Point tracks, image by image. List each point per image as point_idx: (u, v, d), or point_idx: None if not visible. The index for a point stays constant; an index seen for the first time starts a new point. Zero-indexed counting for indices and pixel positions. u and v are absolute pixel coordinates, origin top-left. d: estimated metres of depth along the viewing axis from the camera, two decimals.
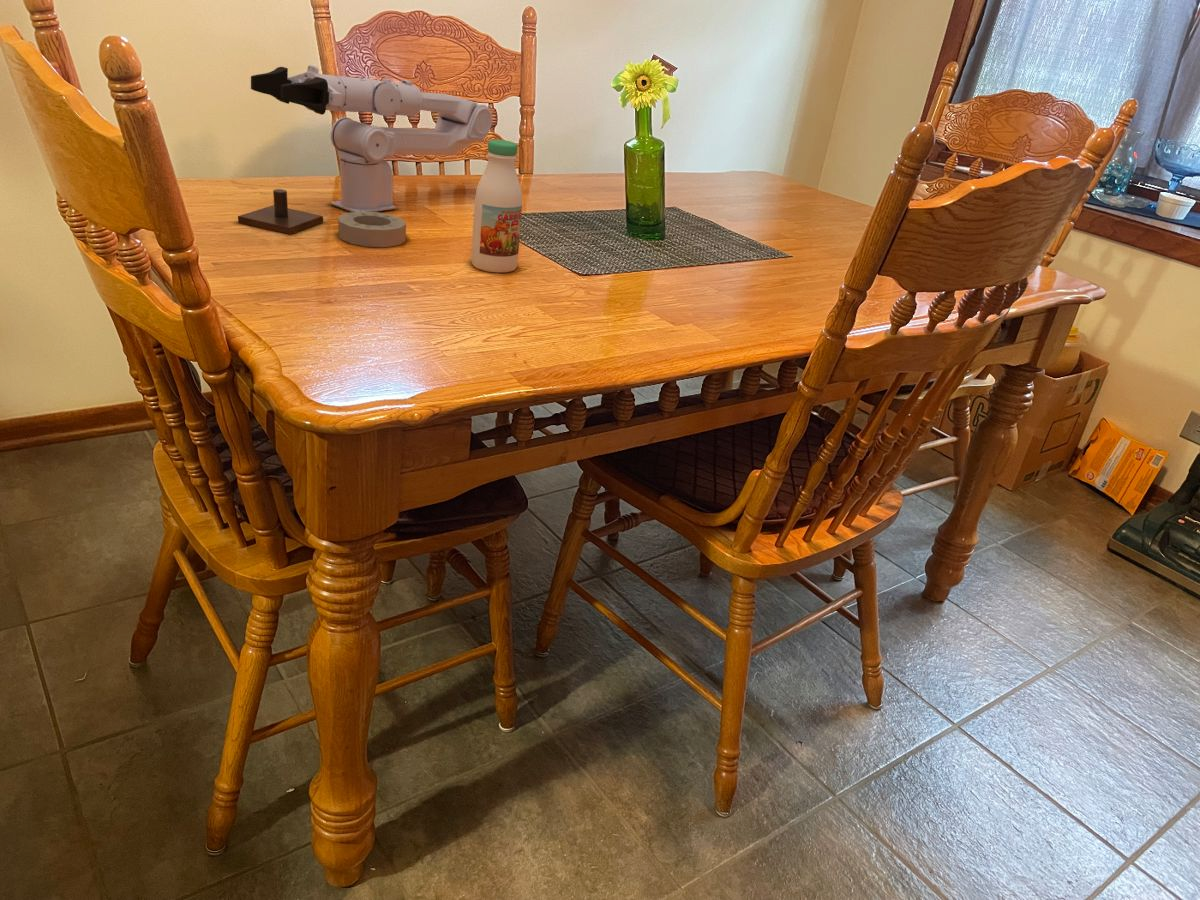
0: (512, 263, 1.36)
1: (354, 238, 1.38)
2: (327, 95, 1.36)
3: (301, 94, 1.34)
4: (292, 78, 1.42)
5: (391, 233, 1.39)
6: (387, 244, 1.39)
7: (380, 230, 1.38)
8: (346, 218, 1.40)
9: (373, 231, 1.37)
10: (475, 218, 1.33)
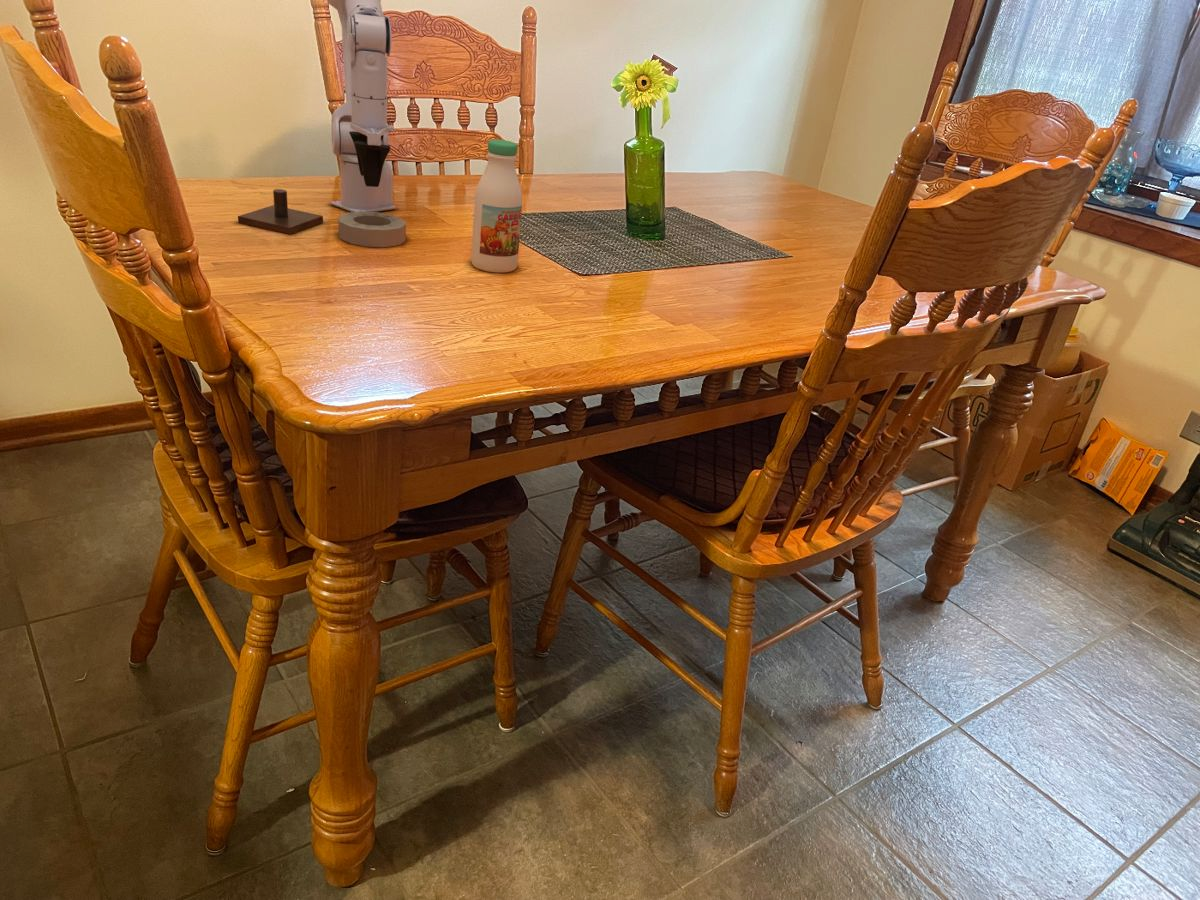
0: (512, 263, 1.36)
1: (354, 238, 1.38)
2: None
3: None
4: None
5: (391, 233, 1.39)
6: (387, 244, 1.39)
7: (380, 230, 1.38)
8: (346, 218, 1.40)
9: (373, 231, 1.37)
10: (475, 218, 1.33)
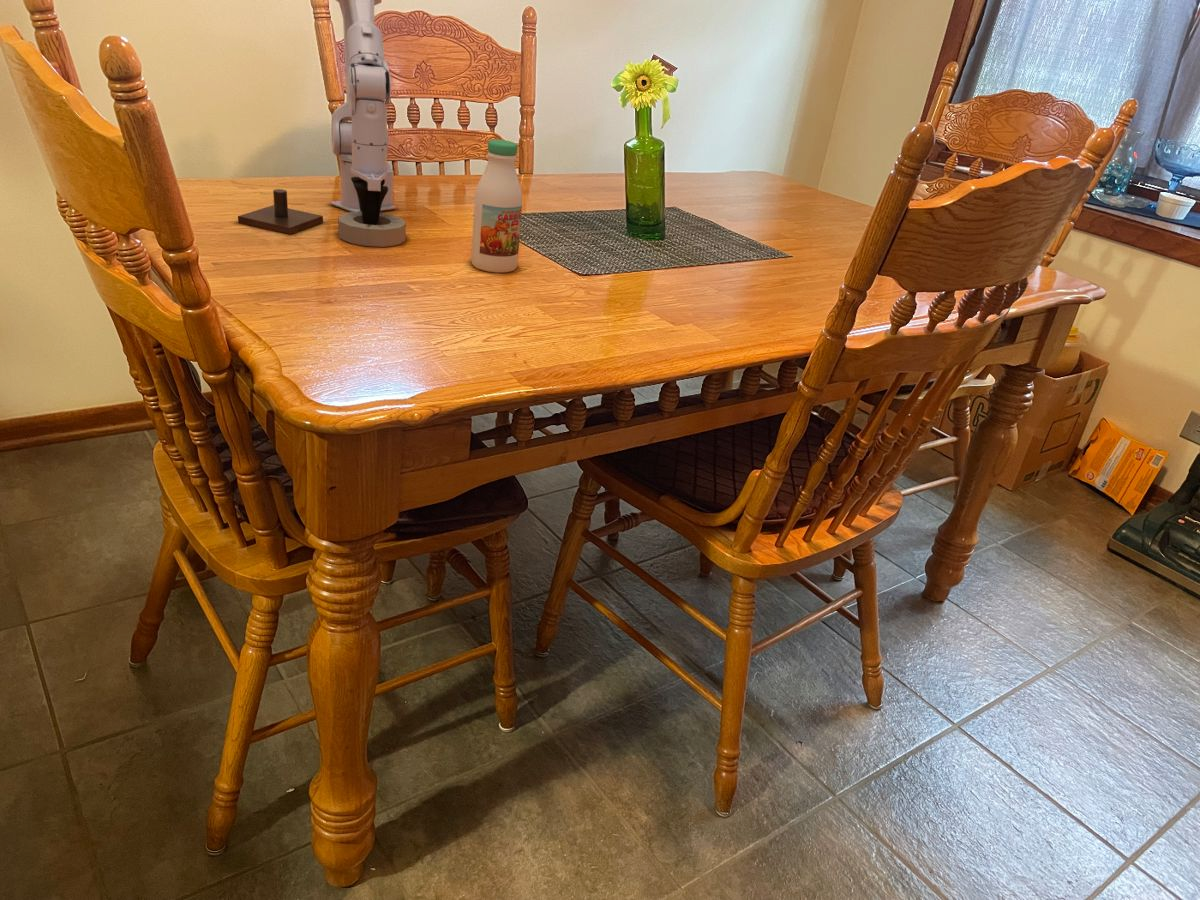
0: (512, 263, 1.36)
1: (353, 237, 1.38)
2: None
3: None
4: None
5: (391, 232, 1.39)
6: (387, 243, 1.39)
7: (380, 229, 1.38)
8: (346, 217, 1.41)
9: (373, 230, 1.37)
10: (475, 218, 1.33)
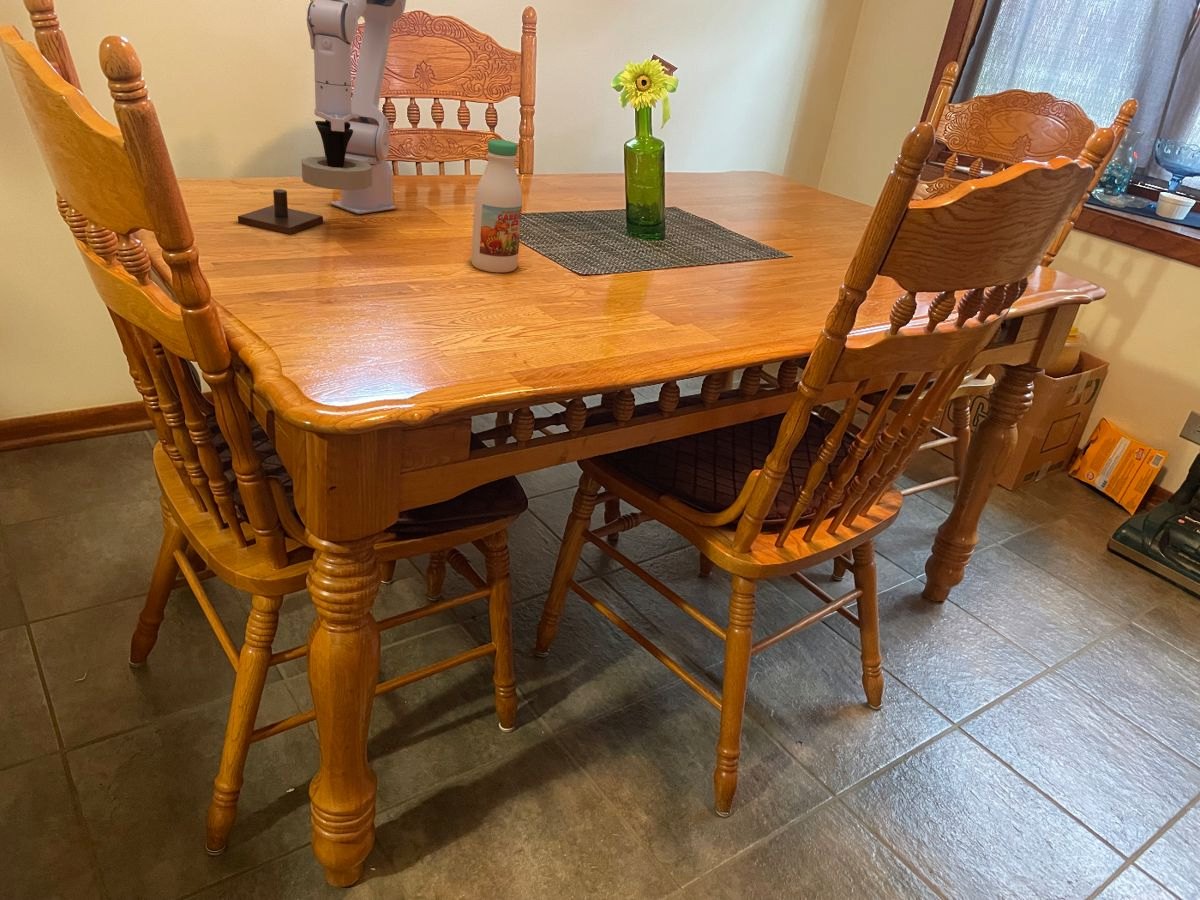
0: (512, 263, 1.36)
1: (317, 180, 1.34)
2: None
3: None
4: None
5: (356, 175, 1.35)
6: (352, 186, 1.35)
7: (344, 171, 1.33)
8: (309, 161, 1.36)
9: (337, 172, 1.33)
10: (475, 218, 1.33)
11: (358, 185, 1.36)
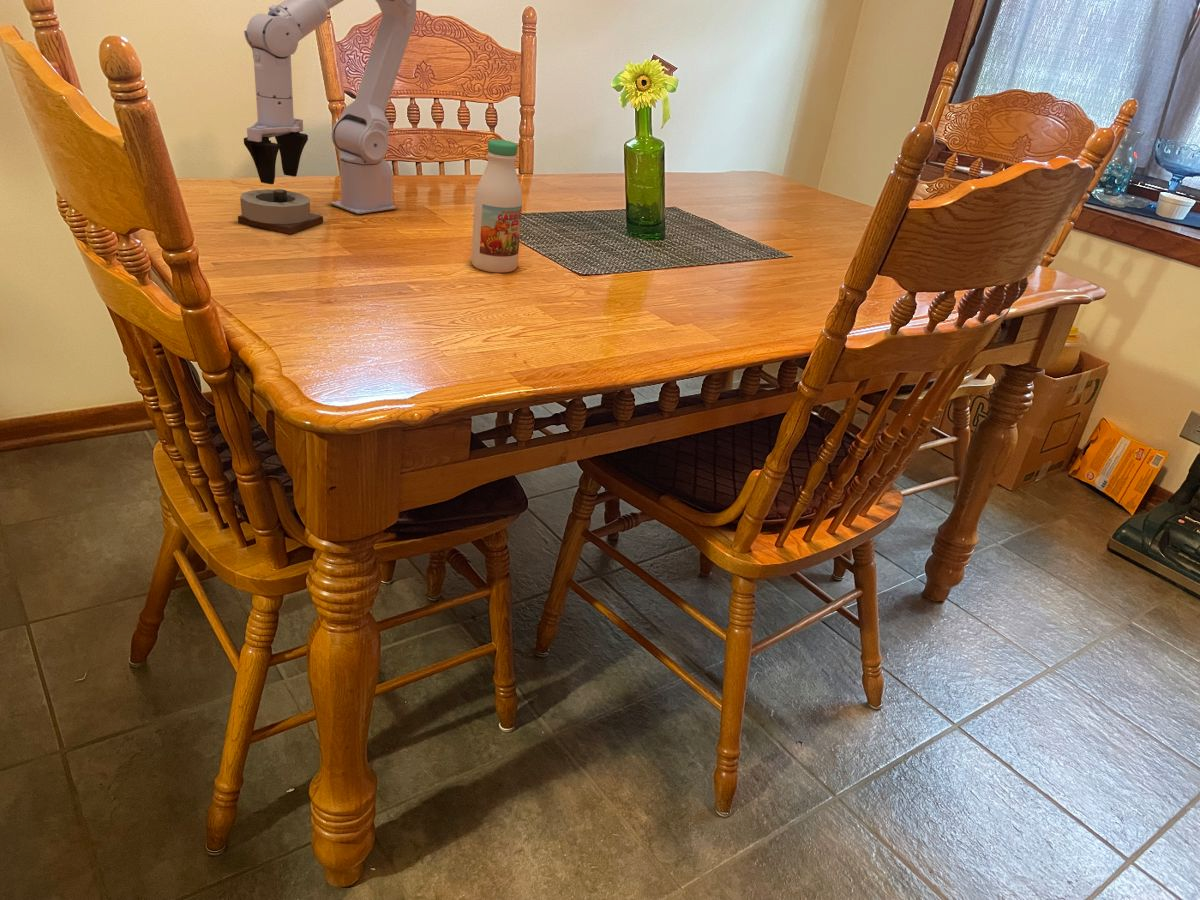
0: (512, 263, 1.36)
1: (243, 210, 1.39)
2: None
3: None
4: None
5: (273, 210, 1.37)
6: (269, 220, 1.38)
7: (260, 205, 1.37)
8: (255, 192, 1.42)
9: (254, 205, 1.37)
10: (475, 218, 1.33)
11: (276, 220, 1.38)
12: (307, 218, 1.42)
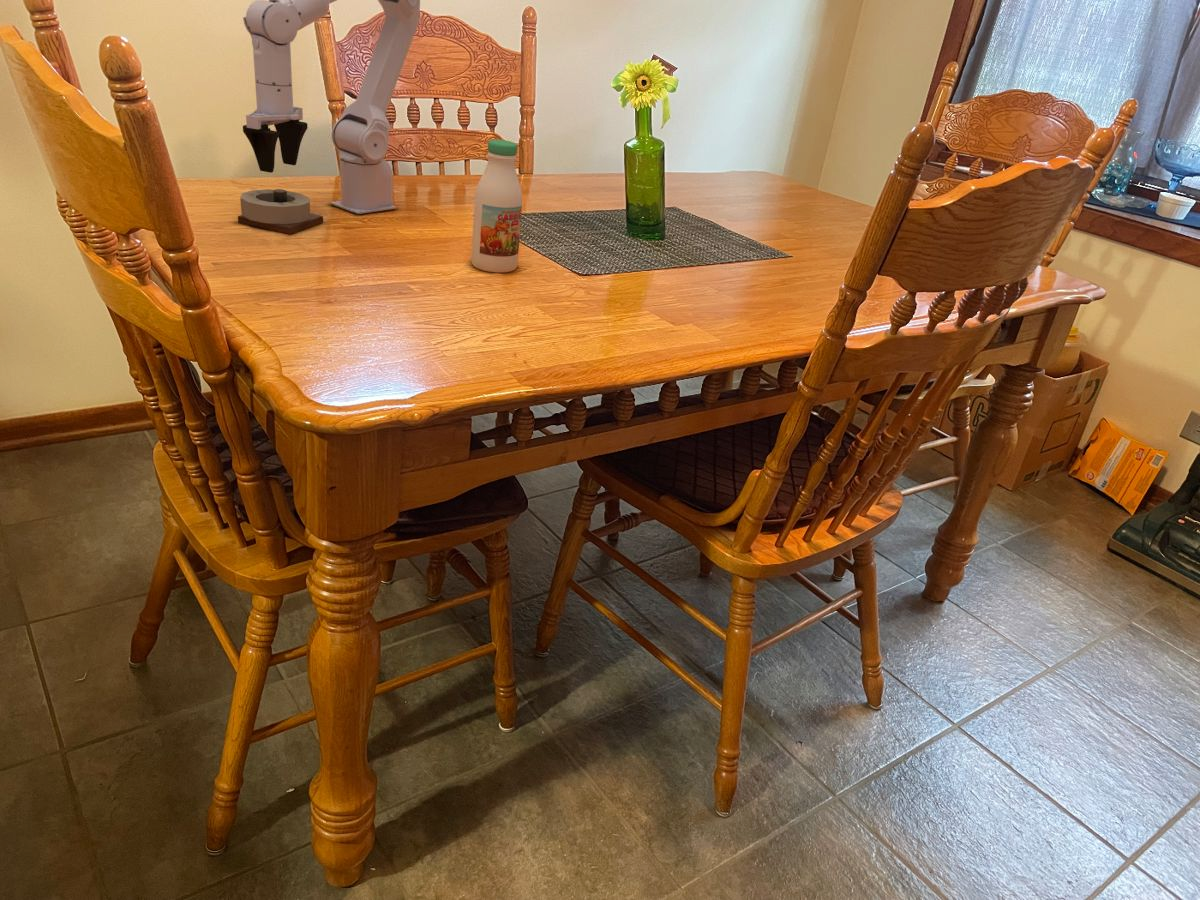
0: (512, 263, 1.36)
1: (243, 210, 1.39)
2: None
3: None
4: (267, 120, 1.34)
5: (273, 210, 1.37)
6: (269, 220, 1.38)
7: (260, 205, 1.37)
8: (255, 192, 1.42)
9: (254, 205, 1.37)
10: (475, 218, 1.33)
11: (276, 220, 1.38)
12: (307, 218, 1.42)
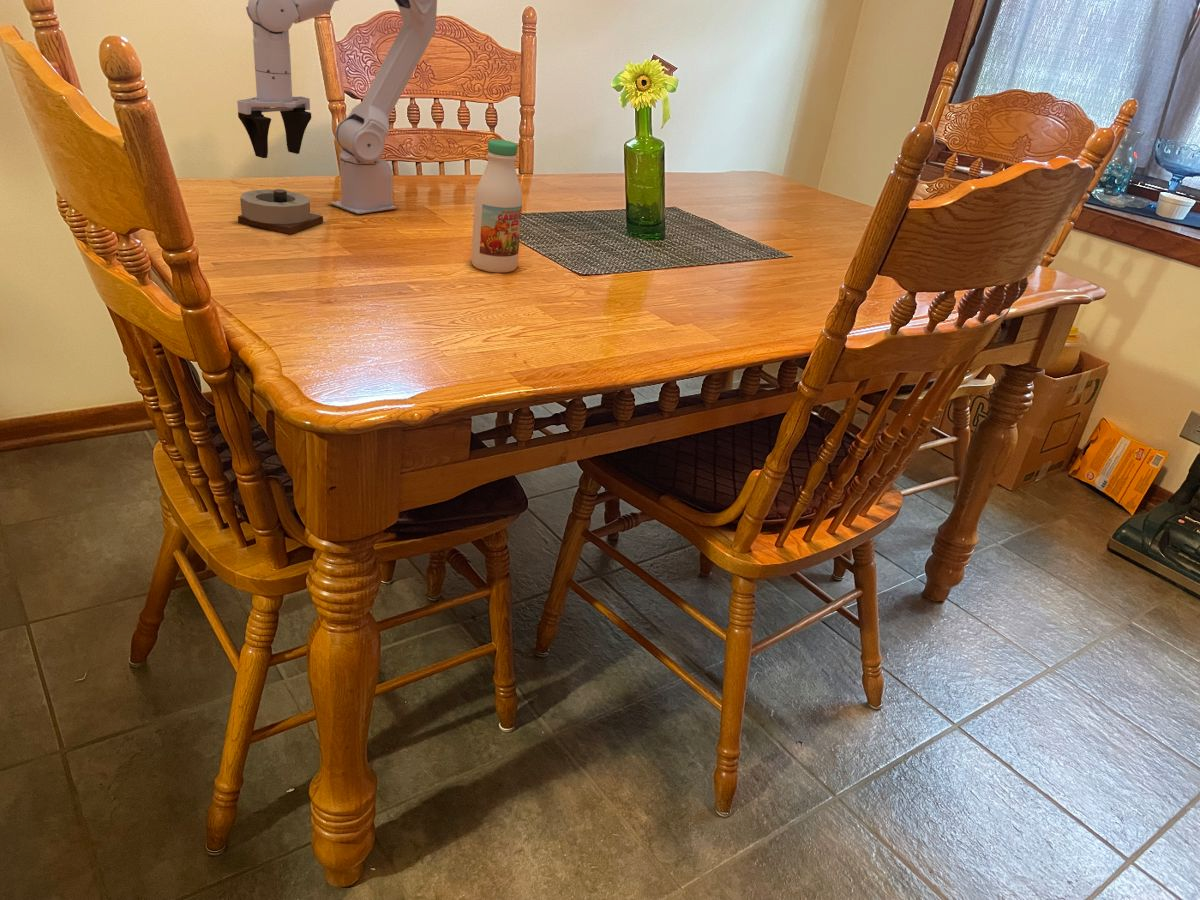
0: (512, 263, 1.36)
1: (243, 210, 1.39)
2: None
3: None
4: (259, 106, 1.38)
5: (273, 210, 1.37)
6: (269, 220, 1.38)
7: (260, 205, 1.37)
8: (255, 192, 1.42)
9: (254, 205, 1.37)
10: (475, 218, 1.33)
11: (276, 220, 1.38)
12: (307, 218, 1.42)
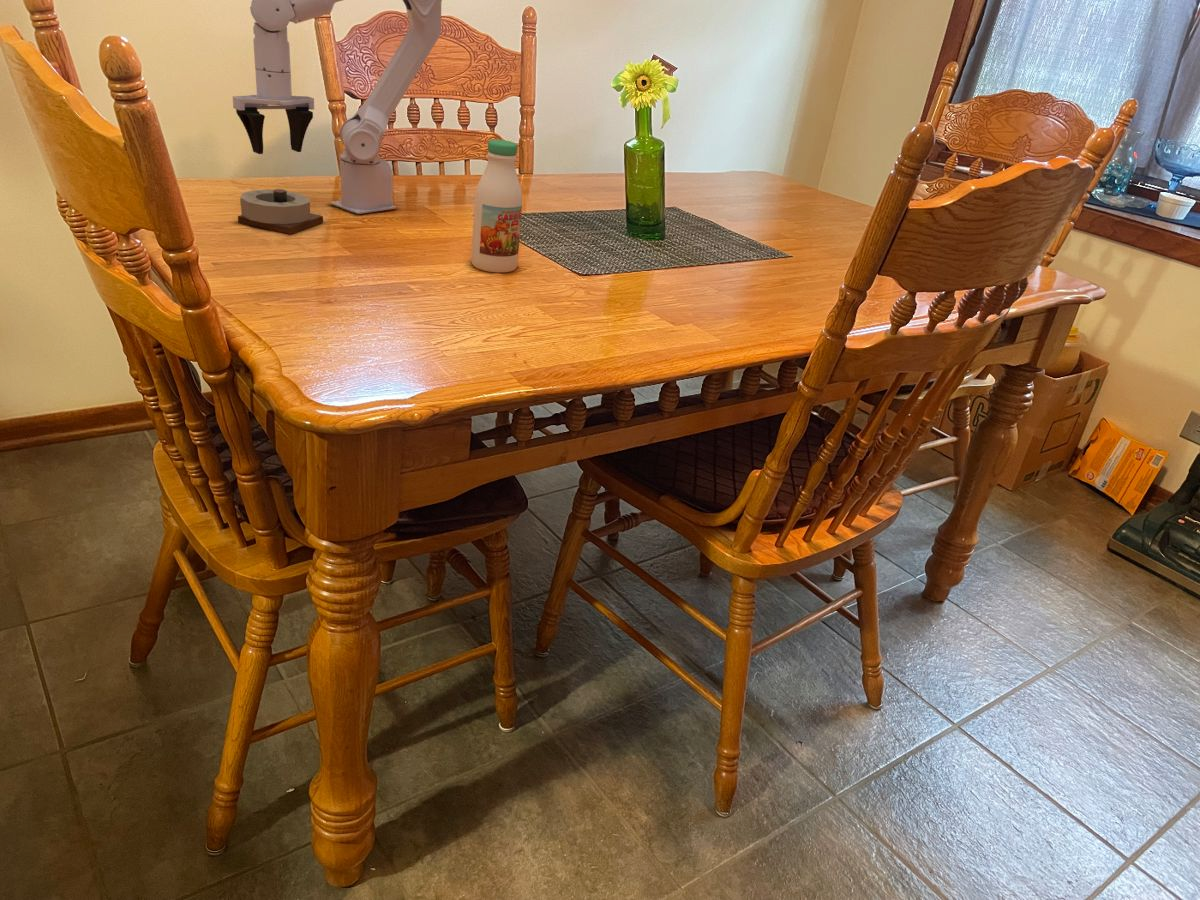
0: (512, 263, 1.36)
1: (243, 210, 1.39)
2: None
3: None
4: (253, 103, 1.41)
5: (273, 210, 1.37)
6: (269, 220, 1.38)
7: (260, 205, 1.37)
8: (255, 192, 1.42)
9: (254, 205, 1.37)
10: (475, 218, 1.33)
11: (276, 220, 1.38)
12: (307, 218, 1.42)
